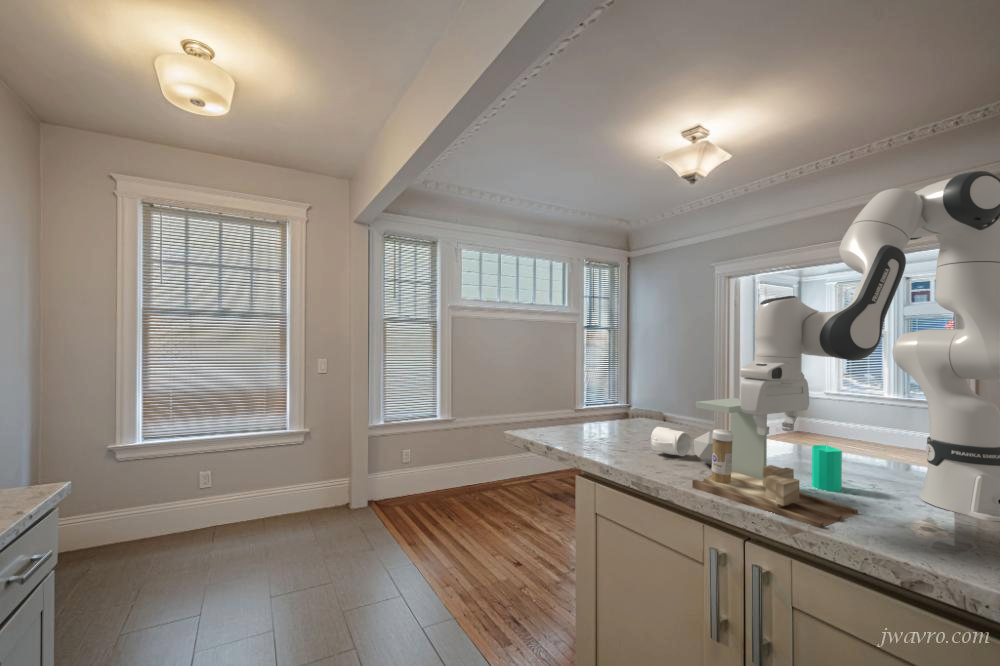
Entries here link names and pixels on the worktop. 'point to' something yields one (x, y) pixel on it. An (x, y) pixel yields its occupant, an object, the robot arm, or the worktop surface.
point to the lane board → (789, 506)
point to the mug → (671, 441)
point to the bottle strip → (775, 494)
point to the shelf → (742, 437)
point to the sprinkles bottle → (722, 456)
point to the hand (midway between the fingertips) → (775, 432)
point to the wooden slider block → (767, 472)
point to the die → (704, 447)
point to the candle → (826, 468)
